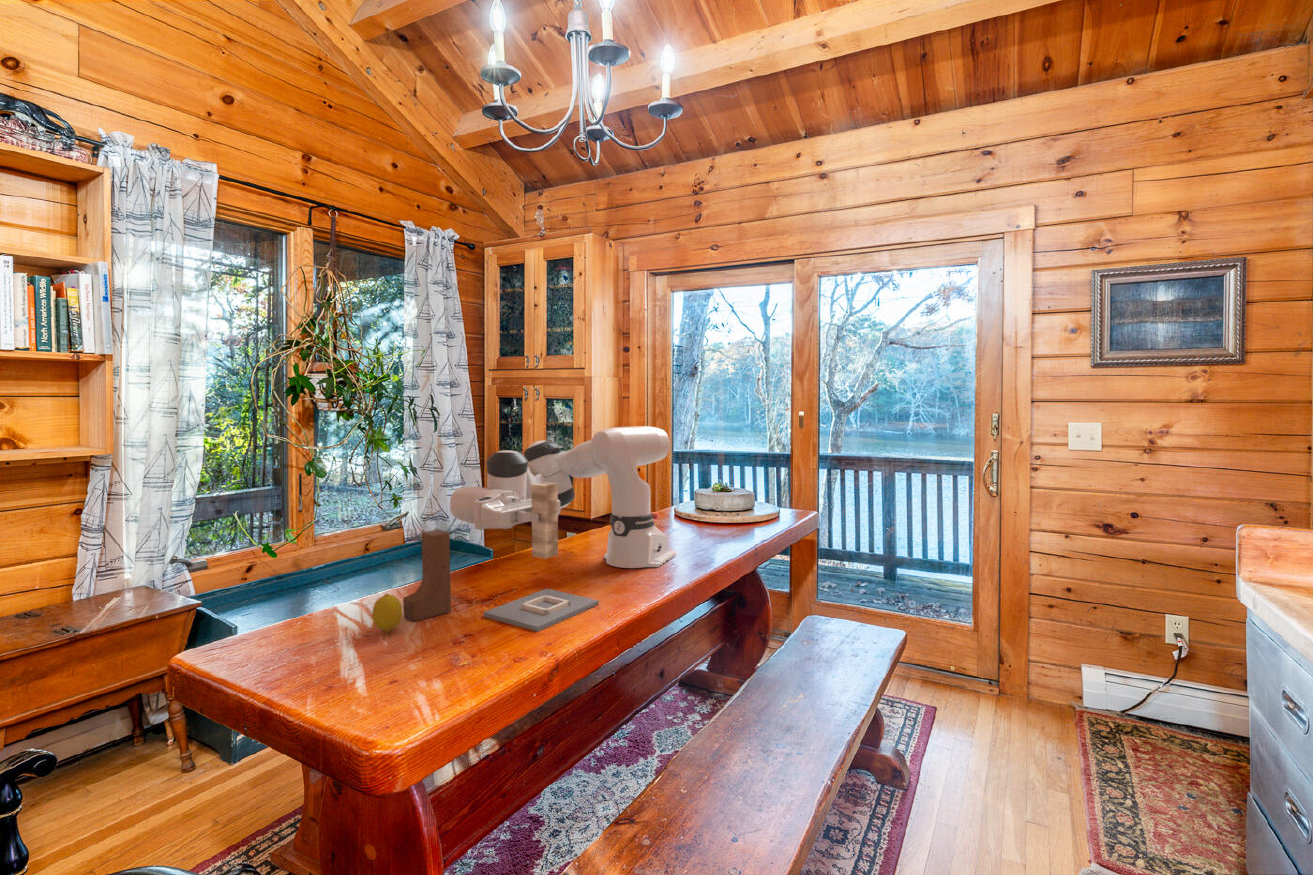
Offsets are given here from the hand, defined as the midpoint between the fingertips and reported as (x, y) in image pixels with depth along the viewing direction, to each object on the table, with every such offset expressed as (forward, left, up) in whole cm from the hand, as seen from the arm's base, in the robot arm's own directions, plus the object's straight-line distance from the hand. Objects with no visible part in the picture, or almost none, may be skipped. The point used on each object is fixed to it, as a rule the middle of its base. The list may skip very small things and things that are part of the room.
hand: (547, 515), depth 140 cm
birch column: (0, -1, -9) cm, 9 cm away
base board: (0, -2, -22) cm, 22 cm away
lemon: (+27, -19, -22) cm, 40 cm away
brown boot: (+16, -21, -22) cm, 34 cm away
